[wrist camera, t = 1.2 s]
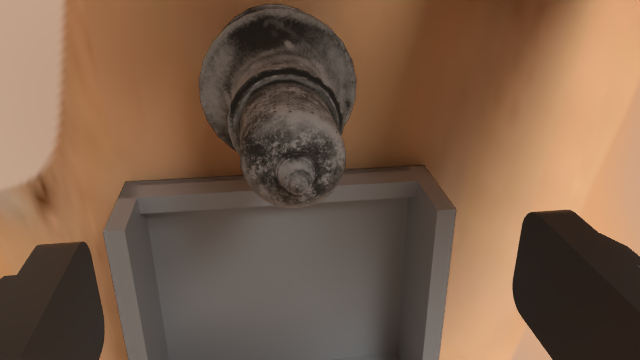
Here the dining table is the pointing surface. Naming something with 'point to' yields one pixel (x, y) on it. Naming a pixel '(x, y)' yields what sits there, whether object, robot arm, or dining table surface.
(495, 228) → the dining table surface
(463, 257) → the dining table surface
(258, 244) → the box
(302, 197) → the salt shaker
